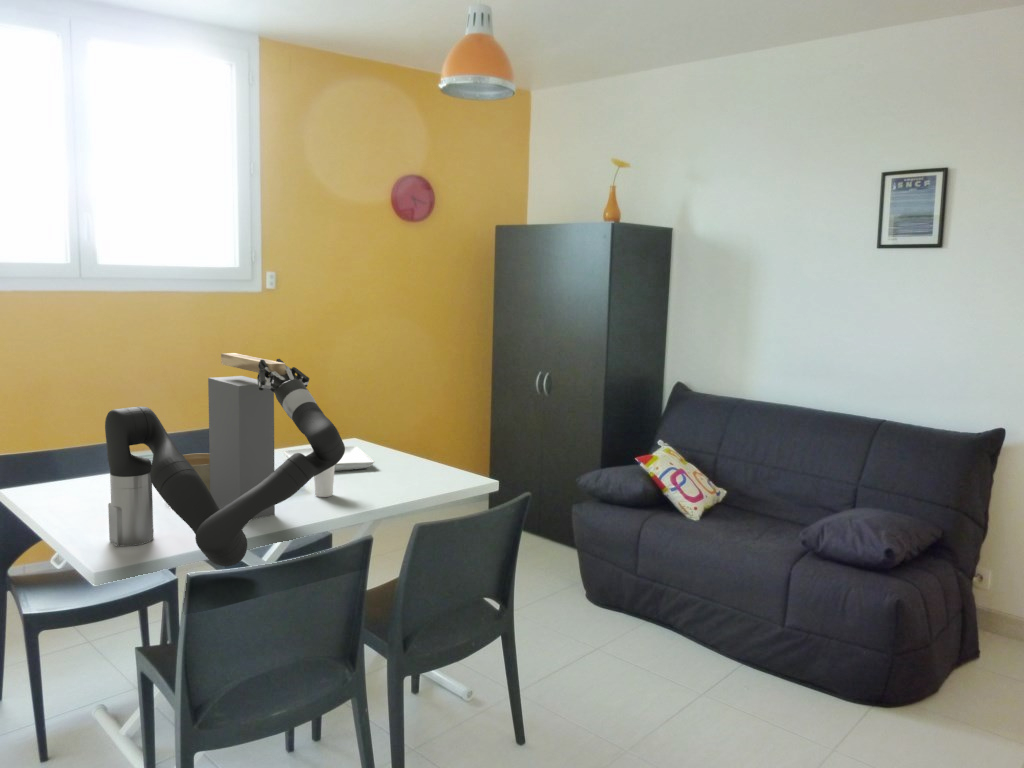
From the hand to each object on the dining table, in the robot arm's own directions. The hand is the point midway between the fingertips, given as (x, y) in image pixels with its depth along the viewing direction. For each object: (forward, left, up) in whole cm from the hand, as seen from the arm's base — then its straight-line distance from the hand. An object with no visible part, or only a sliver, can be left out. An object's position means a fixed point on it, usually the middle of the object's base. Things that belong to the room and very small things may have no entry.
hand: (269, 362), depth 206 cm
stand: (0, +17, -44) cm, 47 cm away
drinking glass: (+26, +17, -44) cm, 54 cm away
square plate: (+48, +52, -44) cm, 83 cm away
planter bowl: (-3, +41, -44) cm, 60 cm away
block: (0, +10, -3) cm, 10 cm away
